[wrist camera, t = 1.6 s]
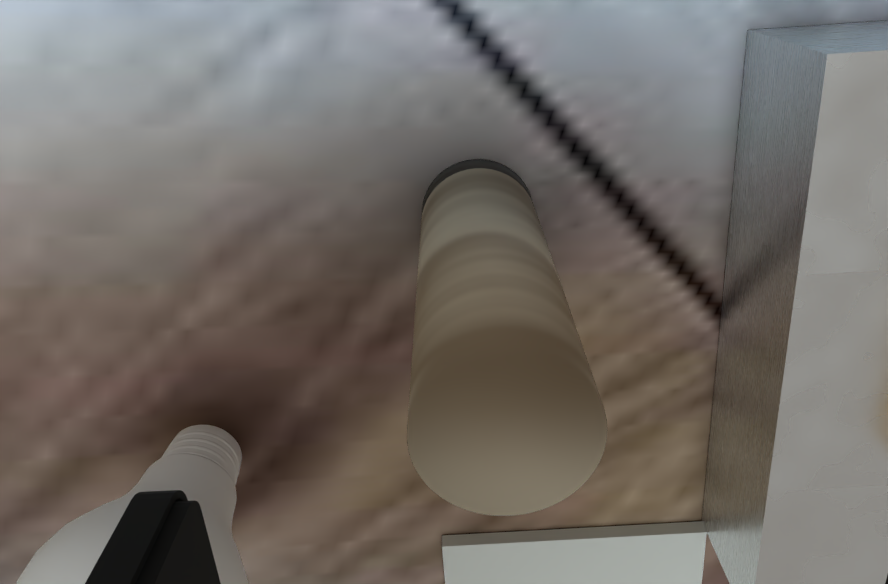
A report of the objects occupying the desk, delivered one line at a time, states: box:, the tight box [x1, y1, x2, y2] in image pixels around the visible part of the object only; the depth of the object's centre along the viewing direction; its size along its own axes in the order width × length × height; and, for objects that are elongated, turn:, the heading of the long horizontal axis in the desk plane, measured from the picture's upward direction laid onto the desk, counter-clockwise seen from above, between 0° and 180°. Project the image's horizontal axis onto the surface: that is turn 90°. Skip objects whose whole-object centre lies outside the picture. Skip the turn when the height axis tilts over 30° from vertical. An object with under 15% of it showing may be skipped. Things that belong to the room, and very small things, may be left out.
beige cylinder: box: [407, 159, 607, 516], centre depth 19 cm, size 4×4×12 cm
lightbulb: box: [16, 425, 249, 584], centre depth 23 cm, size 6×6×11 cm
